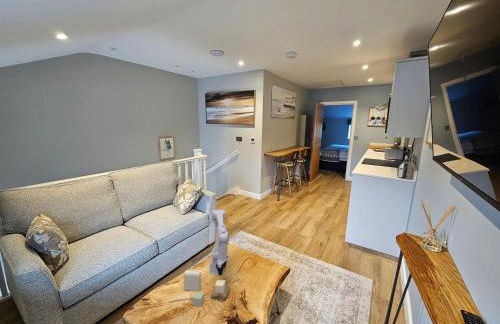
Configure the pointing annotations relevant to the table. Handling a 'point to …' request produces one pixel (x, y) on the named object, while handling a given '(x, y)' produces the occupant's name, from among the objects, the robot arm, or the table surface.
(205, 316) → the table surface
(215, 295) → the walnut base
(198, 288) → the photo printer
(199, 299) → the sage cube
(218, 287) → the cream cube
